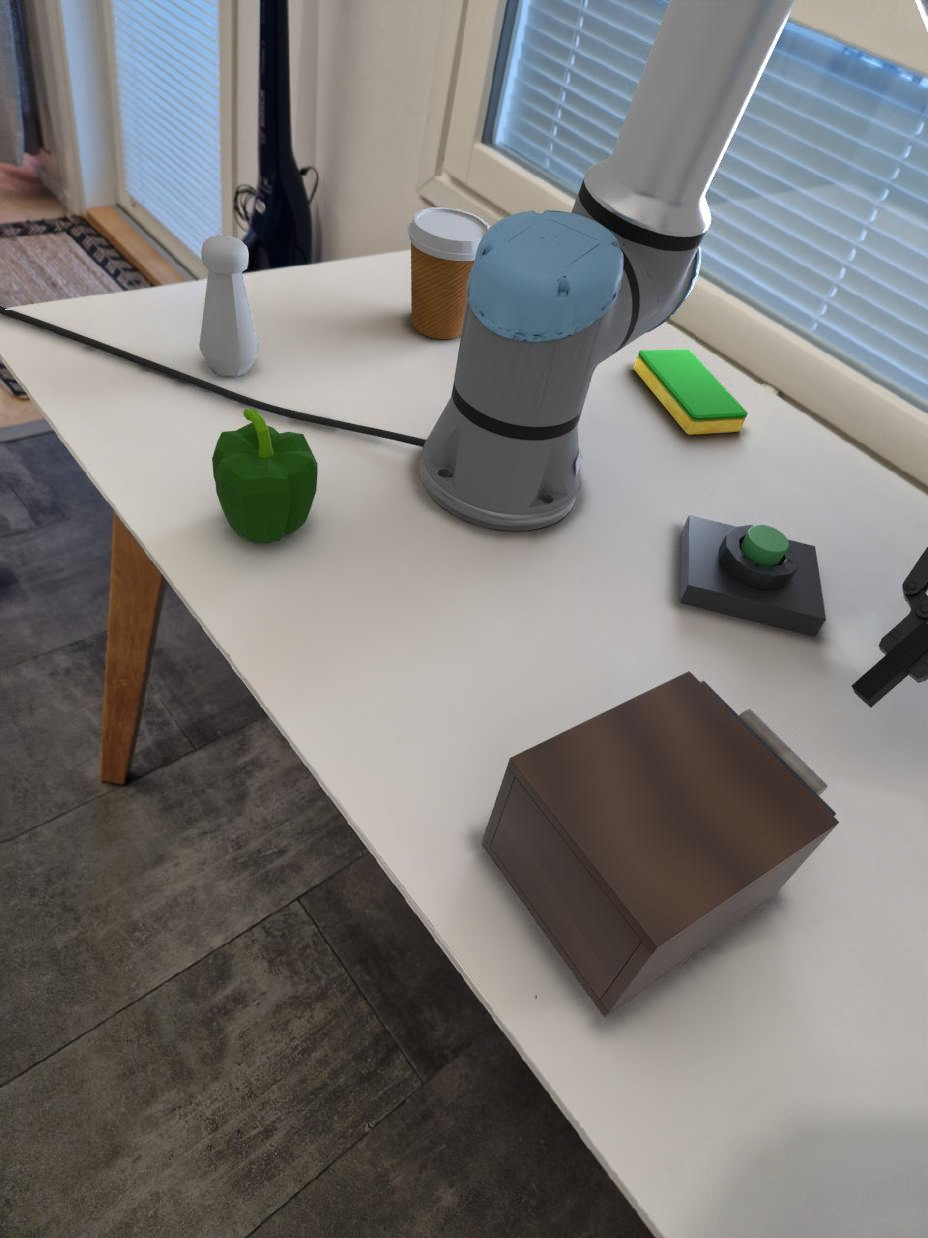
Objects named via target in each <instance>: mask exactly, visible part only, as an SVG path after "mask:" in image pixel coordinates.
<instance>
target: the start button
mask: <svg viewBox="0 0 928 1238" xmlns="http://www.w3.org/2000/svg"><path fill="white" fill-rule="evenodd" d="M787 539H788V538H787V537H786V535H785V534H784V533H783V532H781V531H780V530H778V529H777V528H775V527H772V526H770V525H766V524H756V525H754V526H753V527H751V528H750V529H749V530H748V532H747V534H746V536H745V538H744V540H743V542H742V544H741V551H742V552H743V553H744V554H745V556H746V557H748V558H750V559H751V560H753V561H755V562H756V563H758V564H762V565H766V566H776V565H778V564H779V563H780V561H781V560H782V558H783V556H784V554H785V552H786V551H787V549H788V547H789V542H788V540H789V539H788V540H787Z"/></svg>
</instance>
